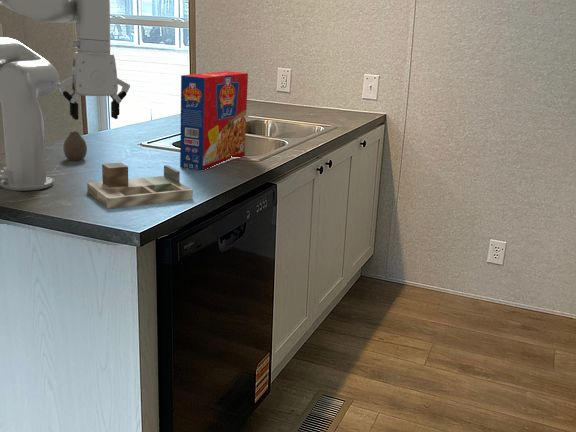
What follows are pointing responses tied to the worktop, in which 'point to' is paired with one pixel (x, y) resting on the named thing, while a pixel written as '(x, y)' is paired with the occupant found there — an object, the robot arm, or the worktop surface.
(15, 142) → the robot arm
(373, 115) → the worktop surface
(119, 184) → the walnut block
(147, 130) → the worktop surface
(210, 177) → the worktop surface
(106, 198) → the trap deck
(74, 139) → the vase
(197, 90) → the pasta box
